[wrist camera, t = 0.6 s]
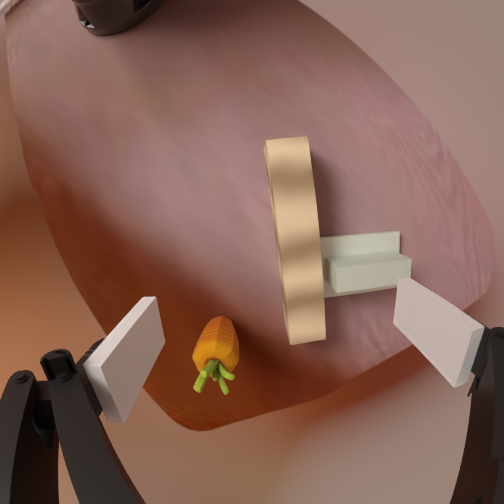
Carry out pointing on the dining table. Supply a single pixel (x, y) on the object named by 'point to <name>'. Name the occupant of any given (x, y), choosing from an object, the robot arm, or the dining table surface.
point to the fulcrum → (362, 263)
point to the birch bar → (297, 237)
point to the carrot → (216, 352)
